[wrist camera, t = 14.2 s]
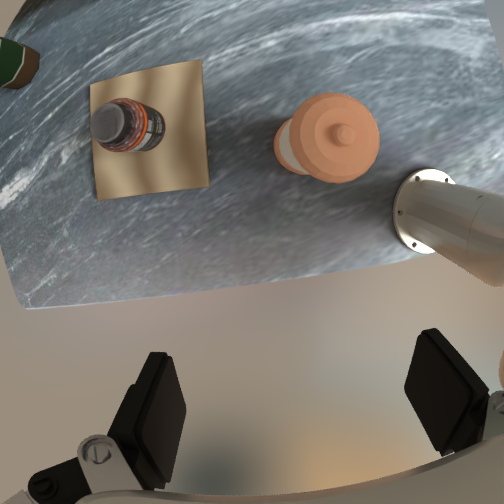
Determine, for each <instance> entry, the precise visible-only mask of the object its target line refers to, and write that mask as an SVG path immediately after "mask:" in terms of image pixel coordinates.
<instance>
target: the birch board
mask: <svg viewBox="0 0 504 504" xmlns="http://www.w3.org/2000/svg"><path fill="white" fill-rule="evenodd" d="M117 98H129V99H132V100H135V101H137V102H140V103H142V104H144V105H147V106H149V107H152V108H154V109H155V110H157V111H158V112H160V113H161V115H162V116H163V118H164V120H165V125H166V130H165V134H164V137H163V139H162V141H161V142H160V143H159V144H158V145H157V146H156V147H155V148H153V149H152V150H149V151H144V152H111V151H108V150H106V149H104V148H103V147H101V145H100V144H99V143H98V141H97V140H95V139H94V138H93V137H92V151H93V163H94V173H95V182H96V190H97V198H98V201H100V200H106V199H113V198H120V197H127V196H134V195H141V194H149V193H157V192H166V191H175V190H184V189H194V188H204V187H210V177H209V164H208V152H207V138H206V124H205V109H204V92H203V74H202V62H201V60H194V61H188V62H181V63H176V64H170V65H165V66H160V67H155V68H150V69H146V70H141V71H137V72H133V73H129V74H125V75H121V76H118V77H114V78H111V79H107V80H104V81H100V82H97V83H94V84H91V85H90V111H91V116H92V114H93V112H94V111H95V110H96V109H97V108H98V107H99V106H101V105H103V104H105V103H108V102H110V101H112V100H114V99H117Z"/></svg>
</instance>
